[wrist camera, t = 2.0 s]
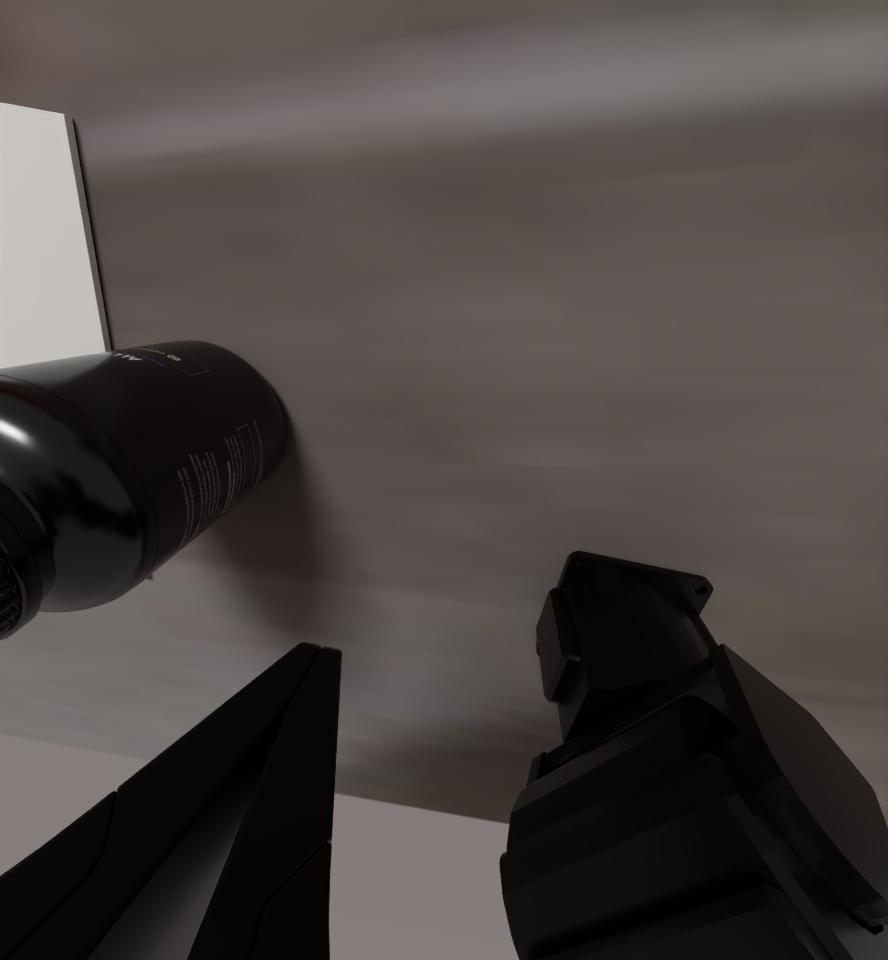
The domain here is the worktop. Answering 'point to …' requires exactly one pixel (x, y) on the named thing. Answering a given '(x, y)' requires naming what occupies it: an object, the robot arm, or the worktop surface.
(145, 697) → the worktop surface
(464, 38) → the worktop surface
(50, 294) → the mat
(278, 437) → the supplement bottle
